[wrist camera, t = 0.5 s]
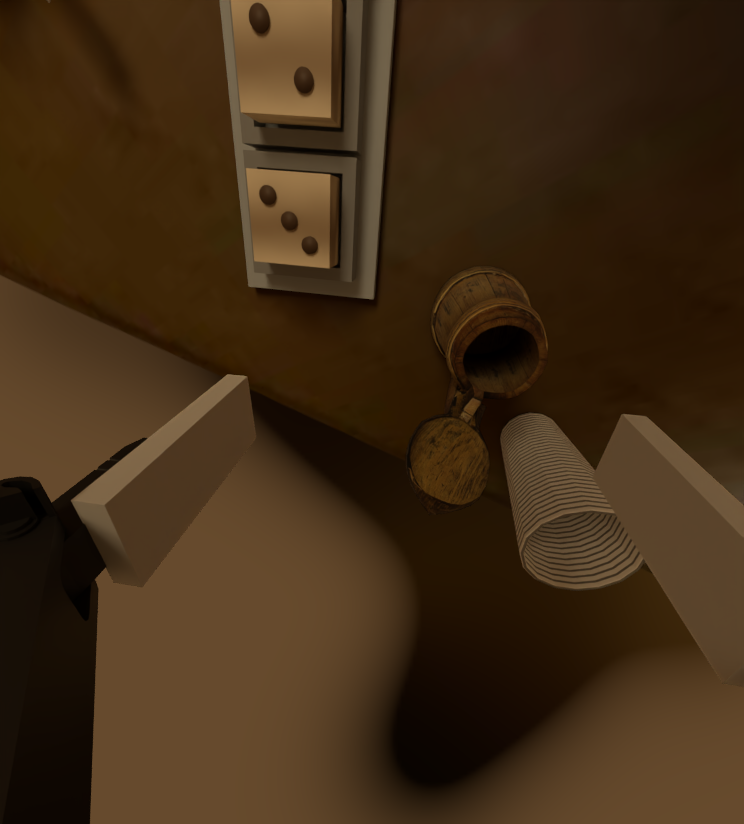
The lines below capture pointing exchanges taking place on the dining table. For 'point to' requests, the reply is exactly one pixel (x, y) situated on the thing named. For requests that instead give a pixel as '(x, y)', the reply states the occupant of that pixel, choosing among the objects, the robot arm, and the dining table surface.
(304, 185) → the tile
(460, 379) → the wooden mug
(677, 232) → the dining table surface
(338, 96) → the tile
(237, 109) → the button board
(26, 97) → the dining table surface
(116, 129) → the dining table surface
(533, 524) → the cup
